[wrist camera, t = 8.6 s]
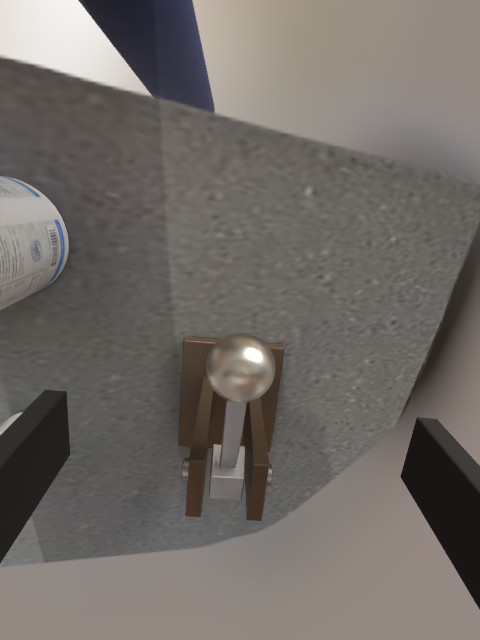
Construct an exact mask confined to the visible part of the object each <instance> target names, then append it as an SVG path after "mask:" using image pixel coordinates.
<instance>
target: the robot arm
mask: <svg viewBox="0 0 480 640" xmlns="http://www.w3.org/2000/svg"><path fill="white" fill-rule="evenodd" d="M69 455H70V445H69V427H68V410H67V392H66V391H54V390H44V391H43V392H42V393H41V394H40V395H39V397H38V398H37V399H36V400H35V401H34V402H33V403H32V404H31V405H30V406H29V407H28V408H27V409H26V410H25V411H24V412H23V413H22V414H21V415H20V416H19V417H18V418H17V419H16V420H15V421H14V422H13V423H12V424H11V425H10V426H9V427H8V428H7V429H6V430H5V431H4V432H3V433H2V434H1V435H0V563H1V561H2V560H3V558H4V557H5V555H6V554H7V552H8V551H9V549H10V547H11V546H12V544H13V543H14V541H15V540H16V538H17V536H18V535H19V533H20V532H21V530H22V529H23V527H24V526H25V524H26V522H27V521H28V519H29V518H30V516H31V515H32V513H33V512H34V510H35V508H36V507H37V505H38V504H39V502H40V501H41V499H42V497H43V496H44V494H45V493H46V491H47V490H48V488H49V487H50V485H51V483H52V482H53V480H54V479H55V477H56V476H57V474H58V473H59V471H60V469H61V468H62V466H63V465H64V463H65V462H66V460H67V458H68V457H69ZM401 478H402V480H403V482H404V483H405V485H406V487H407V488H408V490H409V492H410V493H411V495H412V497H413V498H414V500H415V502H416V503H417V505H418V507H419V508H420V510H421V512H422V514H423V515H424V517H425V519H426V520H427V522H428V524H429V525H430V527H431V528H432V530H433V532H434V534H435V535H436V537H437V539H438V540H439V542H440V543H441V545H442V547H443V549H444V550H445V552H446V554H447V555H448V557H449V559H450V560H451V562H452V564H453V565H454V567H455V569H456V570H457V572H458V574H459V576H460V577H461V579H462V581H463V582H464V584H465V585H466V587H467V589H468V590H469V592H470V594H471V596H472V597H473V599H474V601H475V602H476V604H477V606H478V607H479V609H480V466H479V465H478V464H477V463H476V462H475V460H474V459H473V458H472V457H471V456H470V455H469V454H468V453H467V452H466V451H465V450H464V448H463V447H462V446H461V445H460V444H459V443H458V442H457V441H456V440H455V439H454V437H453V436H452V435H451V434H450V433H449V432H448V431H447V430H446V429H445V428H444V427H443V426H442V424H441V423H440V422H439V421H438V420H437V419H430V418H417V419H416V423H415V426H414V430H413V434H412V438H411V441H410V445H409V448H408V452H407V455H406V459H405V462H404V466H403V470H402V473H401Z"/></svg>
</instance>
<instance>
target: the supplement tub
mask: <svg viewBox="0 0 480 640" xmlns="http://www.w3.org/2000/svg"><path fill="white" fill-rule="evenodd" d="M68 250H69V241H68V234H67V230H66V227H65V224H64V221H63V219H62V217H61V215H60V214H59V212H58V210H57V209H56V207H55V206H54V205H53V204H52V202H51V201H50V200H49V199H48V198H47V197H46V196H45V195H43V194H42V193H41V192H39V191H38V190H37V189H35V188H34V187H32V186H30V185H29V184H27V183H25V182H23V181H20V180H17V179H15V178H11V177H5V176H0V310H2V309H4V308H6V307H8V306H10V305H12V304H14V303H16V302H18V301H20V300H22V299H24V298H26V297H28V296H30V295H32V294H34V293H36V292H38V291H40V290H42V289H44V288H46V287H47V286H49V285H50V284H51V283H53V282H54V281H55V280H56V279H57V277H58V276H59V275H60V273H61V272H62V270H63V268H64V266H65V264H66V261H67V257H68Z"/></svg>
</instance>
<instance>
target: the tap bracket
mask: <svg viewBox="0 0 480 640" xmlns="http://www.w3.org/2000/svg"><path fill="white" fill-rule="evenodd" d="M219 340H220V339H213V338H200V337H188V336H185V339H184V342H183V362H182V381H181V401H180V421H179V440H178V446H187V447H191V451H190V457H189V459H188V458H184V461H183V467H182V480H183V481H188V483H187V500H186V516H190V517H201V510H202V501H203V492H204V482H205V473H206V464H207V454H208V448H213V445H214V444H219V445H222V436H223V427H224V417H225V408H226V400H225V399H224V398H222V397H221V396H219V395H218V394H217V393H216V392H215V391H214V390H213V389H212V387H211V385H210V384H209V381H208V378H207V374H206V361H207V357H208V355H209V352H210V350H211V349H212V347H213V346H214V345H215V344H216V343H217V342H218V341H219ZM266 344H267V346H268V347H269V348H270V350H271V351H272V354H273V356H274V360H275V376H274V380H273V382H272V384H271V386H270V388H269V389H268V390H267V391H266V392H265V393H264V394H263V395H262V396H261V397H259V398H258V399H256V400H254V401H251V402H247V405H246V411H245V417H244V424H243V430H242V436H241V443H240V446H245V489H246V515H247V520H255V521H261V520H262V515H263V507H264V500H265V493H266V486H271V482H272V466H271V464H269V460H268V452H270V448H271V441H272V434H273V426H274V419H275V412H276V405H277V397H278V390H279V383H280V376H281V369H282V361H283V354H284V347H283V344H273V343H266Z"/></svg>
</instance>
